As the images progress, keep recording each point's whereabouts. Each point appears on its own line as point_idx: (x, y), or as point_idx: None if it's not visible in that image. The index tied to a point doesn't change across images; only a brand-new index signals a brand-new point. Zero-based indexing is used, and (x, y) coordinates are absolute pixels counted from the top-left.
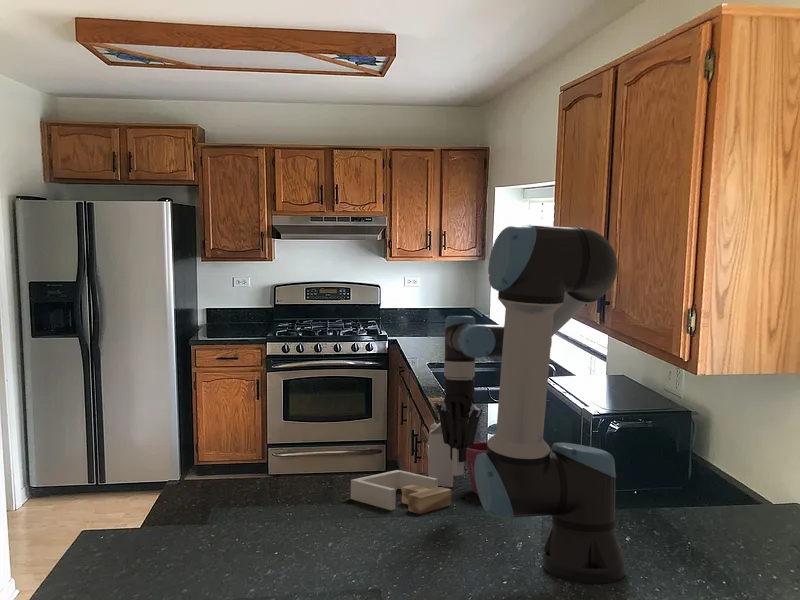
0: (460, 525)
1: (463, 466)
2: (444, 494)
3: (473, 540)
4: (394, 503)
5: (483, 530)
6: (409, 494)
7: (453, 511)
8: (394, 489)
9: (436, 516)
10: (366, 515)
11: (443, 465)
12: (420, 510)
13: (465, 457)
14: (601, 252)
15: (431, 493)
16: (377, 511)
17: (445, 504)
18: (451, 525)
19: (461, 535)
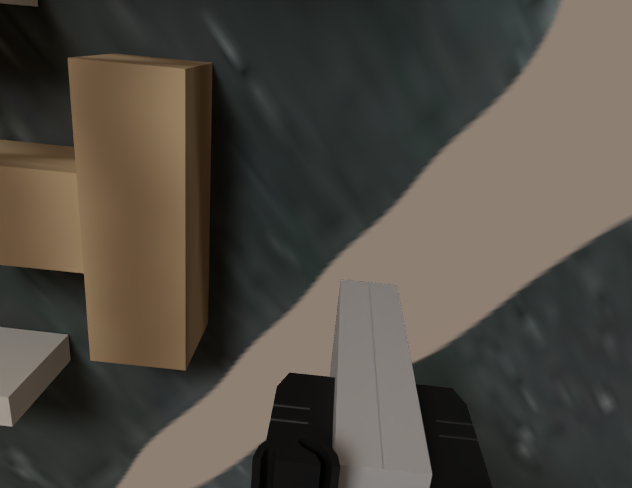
0: (469, 354)
1: (402, 325)
2: (190, 145)
3: (613, 480)
4: (53, 357)
5: (600, 353)
6: (91, 355)
7: (307, 175)
8: (9, 405)
9: (293, 307)
10: (59, 469)
11: None
12: (203, 330)
13: (469, 433)
14: None
15: (161, 253)
16: (41, 403)
17: (208, 123)
18: (433, 377)
19: (540, 458)
